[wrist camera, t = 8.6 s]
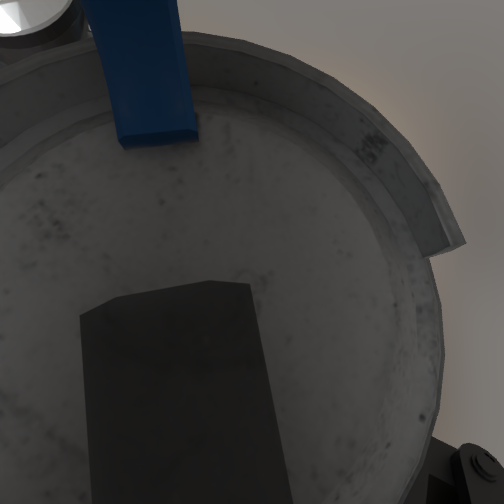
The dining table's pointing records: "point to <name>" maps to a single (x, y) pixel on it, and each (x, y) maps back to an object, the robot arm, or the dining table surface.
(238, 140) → the beverage bottle
